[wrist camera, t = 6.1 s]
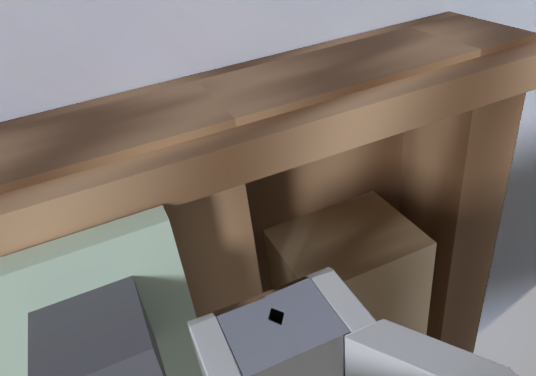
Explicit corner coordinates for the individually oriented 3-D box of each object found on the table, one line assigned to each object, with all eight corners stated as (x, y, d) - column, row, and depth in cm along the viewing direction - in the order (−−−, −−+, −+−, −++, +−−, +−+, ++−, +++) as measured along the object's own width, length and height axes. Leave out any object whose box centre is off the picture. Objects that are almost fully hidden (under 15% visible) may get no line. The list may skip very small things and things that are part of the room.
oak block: (372, 190, 18) (436, 242, 15) (371, 277, 20) (426, 337, 17) (262, 229, 16) (310, 295, 14) (275, 318, 19) (318, 388, 16)
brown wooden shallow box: (448, 11, 16) (563, 39, 12) (417, 329, 25) (480, 397, 21) (-188, 168, 11) (-288, 289, 7) (59, 499, 19) (65, 624, 16)
